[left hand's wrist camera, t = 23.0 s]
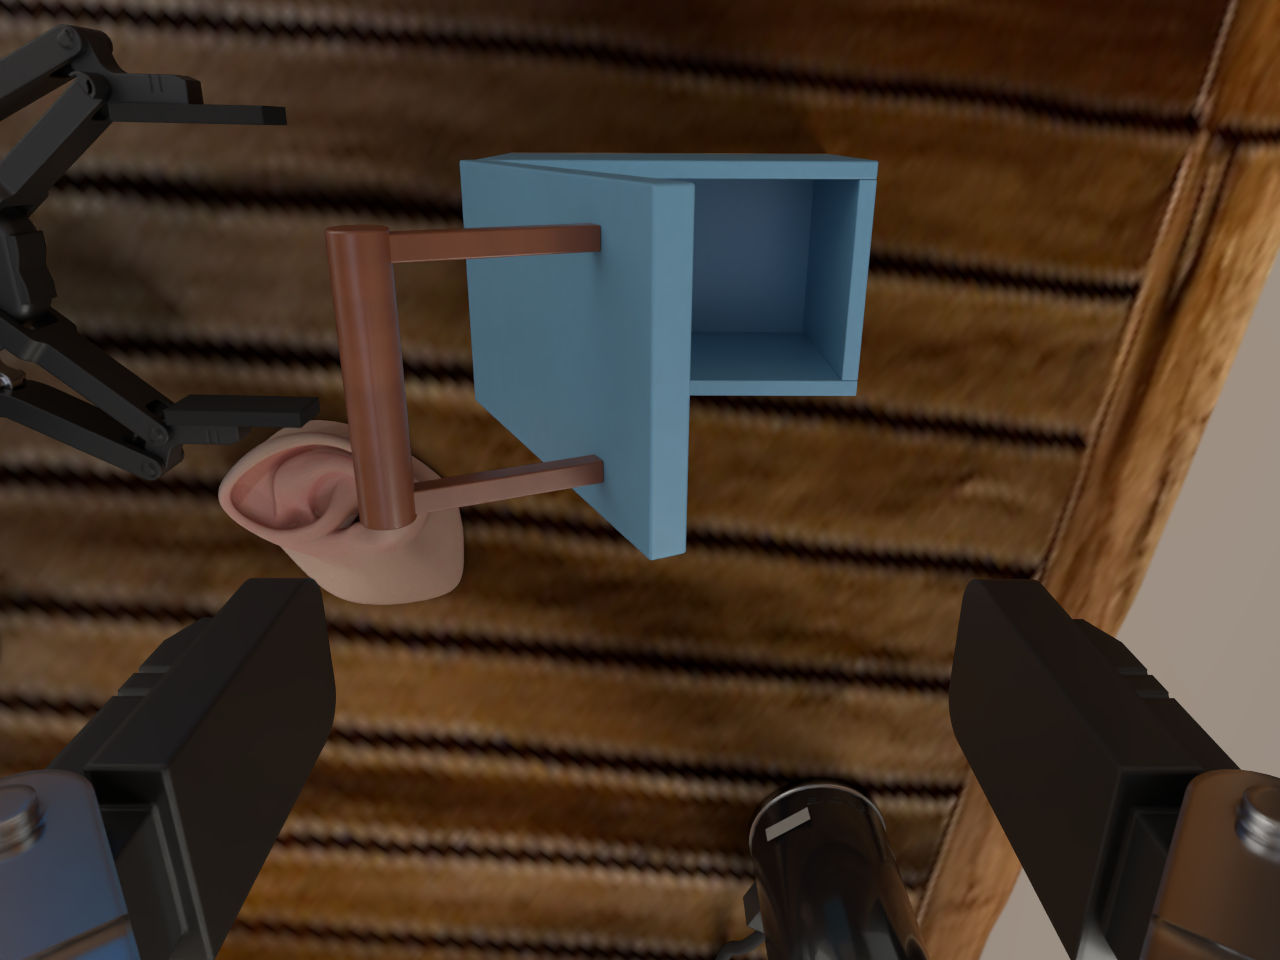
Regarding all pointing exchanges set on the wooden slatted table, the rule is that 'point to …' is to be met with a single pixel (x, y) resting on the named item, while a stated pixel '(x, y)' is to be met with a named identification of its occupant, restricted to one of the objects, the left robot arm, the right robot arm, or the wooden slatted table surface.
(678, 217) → the lid
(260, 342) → the wooden slatted table surface
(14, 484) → the wooden slatted table surface
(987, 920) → the wooden slatted table surface
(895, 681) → the wooden slatted table surface
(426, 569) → the anatomical model
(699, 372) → the chest
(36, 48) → the right robot arm
